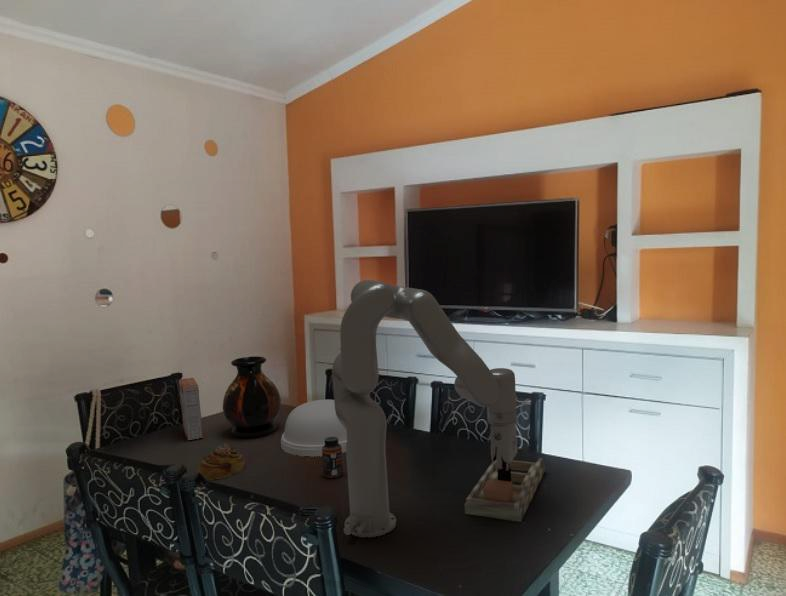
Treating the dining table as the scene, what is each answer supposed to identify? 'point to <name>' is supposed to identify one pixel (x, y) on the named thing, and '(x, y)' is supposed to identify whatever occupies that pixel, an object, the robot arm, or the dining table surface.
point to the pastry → (221, 463)
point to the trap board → (520, 493)
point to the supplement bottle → (332, 458)
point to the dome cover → (312, 429)
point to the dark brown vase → (251, 400)
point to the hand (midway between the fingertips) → (504, 483)
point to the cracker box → (191, 408)
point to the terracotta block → (498, 490)
